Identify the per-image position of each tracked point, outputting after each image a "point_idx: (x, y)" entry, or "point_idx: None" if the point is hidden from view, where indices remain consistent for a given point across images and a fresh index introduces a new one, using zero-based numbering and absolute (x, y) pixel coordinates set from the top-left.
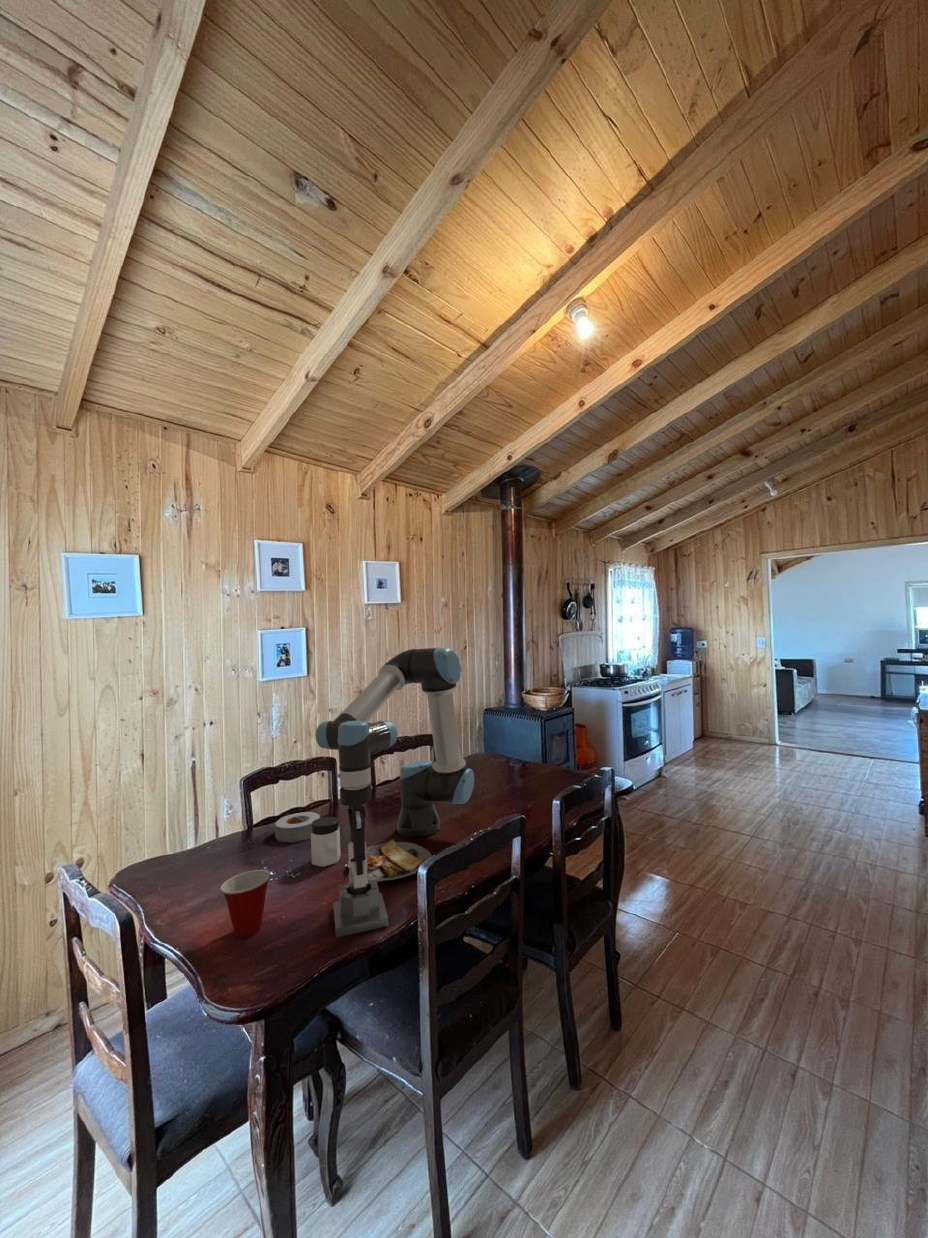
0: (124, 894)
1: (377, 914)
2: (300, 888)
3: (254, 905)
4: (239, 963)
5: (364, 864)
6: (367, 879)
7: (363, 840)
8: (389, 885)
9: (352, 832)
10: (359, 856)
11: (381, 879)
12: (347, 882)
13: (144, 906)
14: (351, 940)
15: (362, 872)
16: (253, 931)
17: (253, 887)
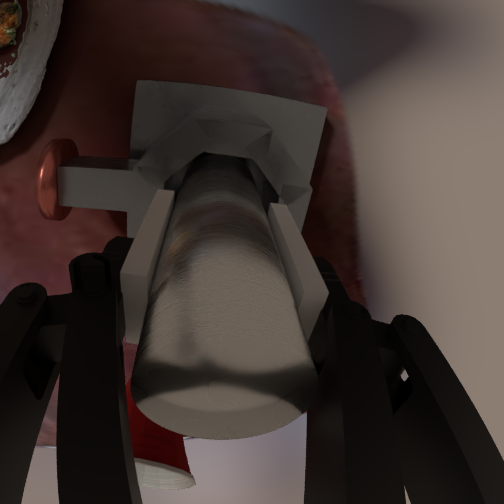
0: None
1: (288, 133)
2: (5, 293)
3: (178, 435)
4: None
5: (317, 271)
6: (246, 190)
7: (486, 445)
8: (59, 40)
9: (138, 489)
10: (404, 369)
11: (24, 67)
12: (66, 213)
13: (51, 445)
14: (319, 220)
15: (331, 268)
16: None
17: (190, 477)
